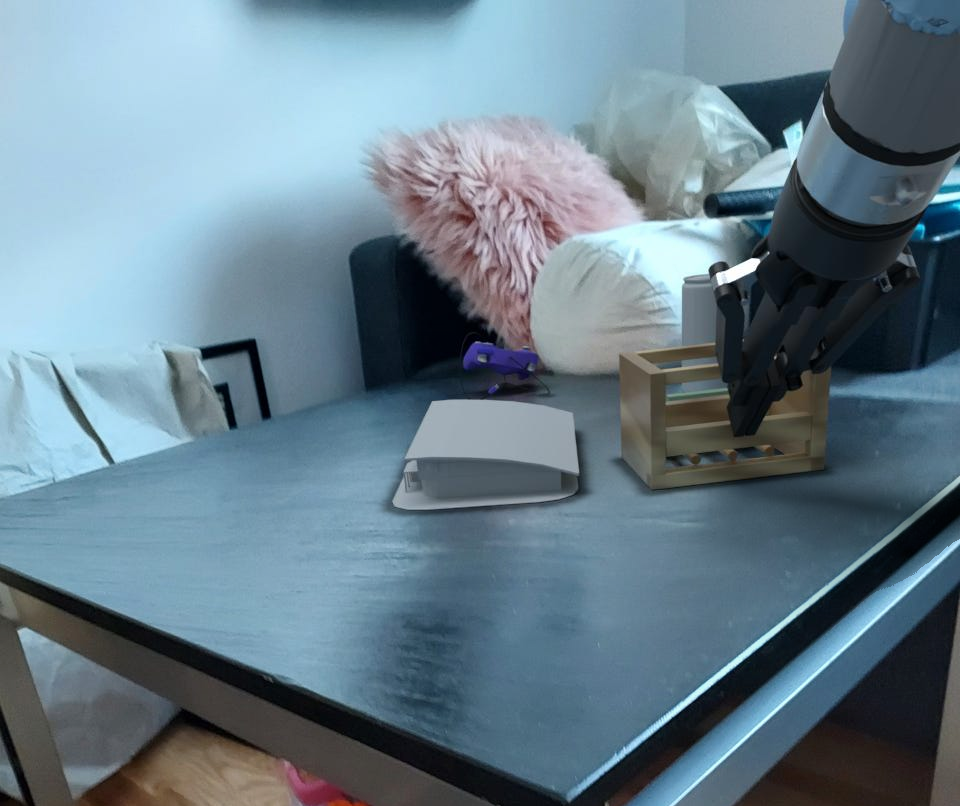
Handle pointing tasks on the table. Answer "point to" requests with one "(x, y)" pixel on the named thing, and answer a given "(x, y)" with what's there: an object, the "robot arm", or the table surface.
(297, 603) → the table surface
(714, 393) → the stop rail
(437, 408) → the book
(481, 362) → the game controller
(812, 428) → the rack
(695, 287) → the beverage can
